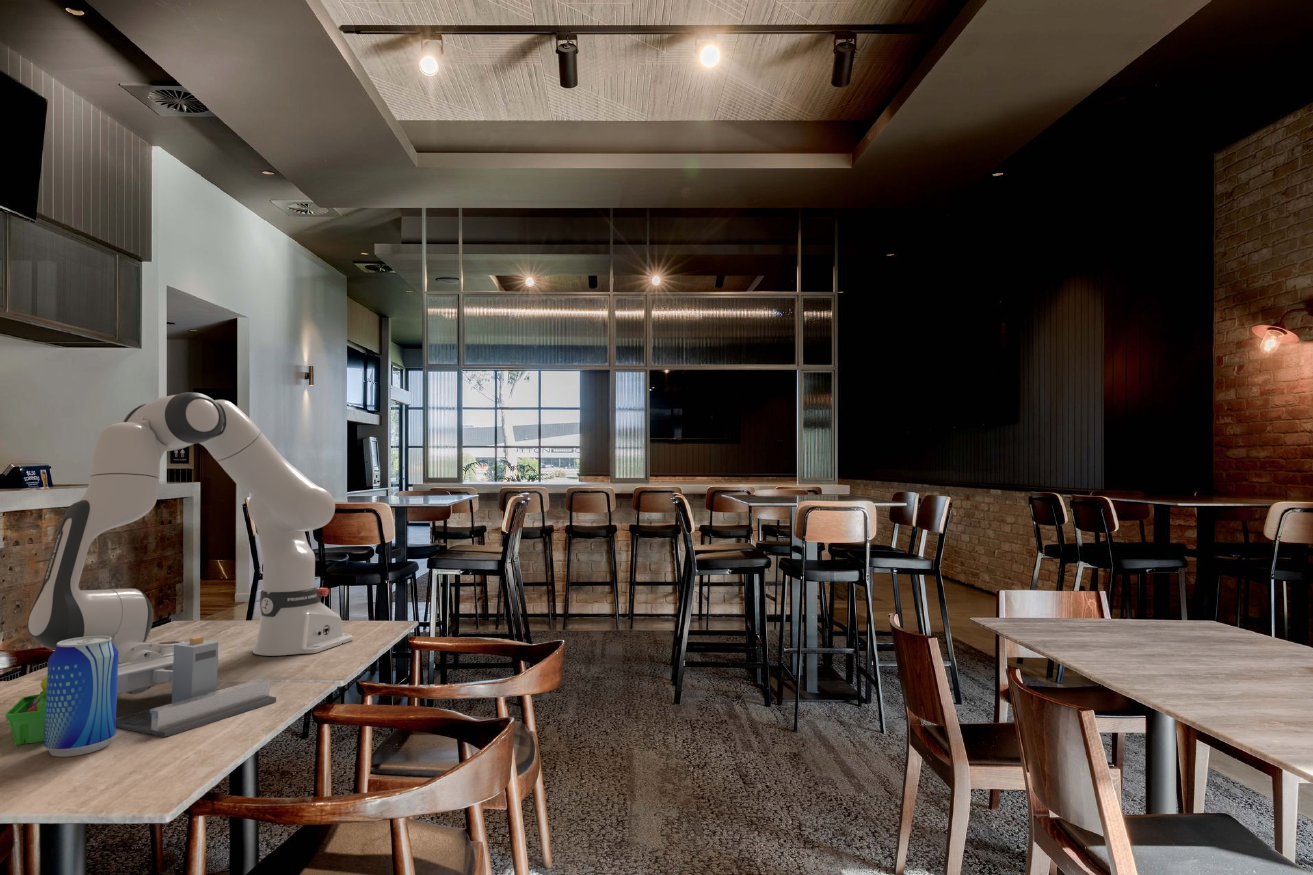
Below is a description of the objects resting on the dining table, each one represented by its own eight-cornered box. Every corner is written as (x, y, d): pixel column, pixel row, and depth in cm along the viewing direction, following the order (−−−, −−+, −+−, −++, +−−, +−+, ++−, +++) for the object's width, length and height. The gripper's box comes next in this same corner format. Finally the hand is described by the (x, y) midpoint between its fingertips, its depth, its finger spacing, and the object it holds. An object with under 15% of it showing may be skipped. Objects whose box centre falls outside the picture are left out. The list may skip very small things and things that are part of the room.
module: (196, 702, 130) (199, 633, 131) (216, 705, 128) (218, 636, 129) (171, 709, 126) (174, 638, 127) (191, 713, 124) (193, 641, 125)
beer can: (128, 741, 113) (132, 636, 114) (69, 761, 105) (73, 648, 106) (90, 735, 116) (94, 632, 117) (29, 754, 108) (34, 644, 109)
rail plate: (223, 692, 139) (223, 672, 139) (276, 701, 133) (276, 680, 133) (108, 725, 120) (109, 701, 121) (164, 737, 115) (165, 712, 115)
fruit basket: (21, 727, 120) (25, 657, 120) (89, 718, 124) (92, 650, 125) (1, 749, 110) (5, 673, 110) (76, 739, 114) (79, 665, 115)
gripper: (71, 662, 125) (122, 671, 119) (189, 638, 143) (238, 645, 138) (69, 700, 124) (120, 711, 119) (188, 671, 143) (237, 679, 137)
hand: (185, 675), depth 128 cm, fingers closed
